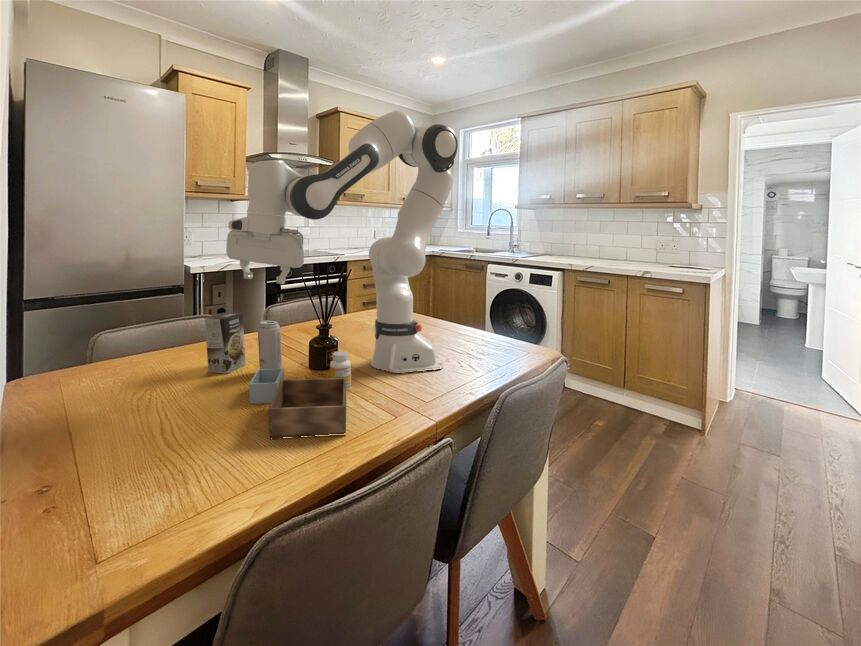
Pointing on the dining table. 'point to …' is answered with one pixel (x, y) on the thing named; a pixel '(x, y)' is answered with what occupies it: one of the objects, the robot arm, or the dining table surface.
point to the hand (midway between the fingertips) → (264, 281)
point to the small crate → (265, 385)
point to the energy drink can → (269, 345)
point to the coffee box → (225, 342)
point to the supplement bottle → (341, 367)
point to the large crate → (308, 408)
